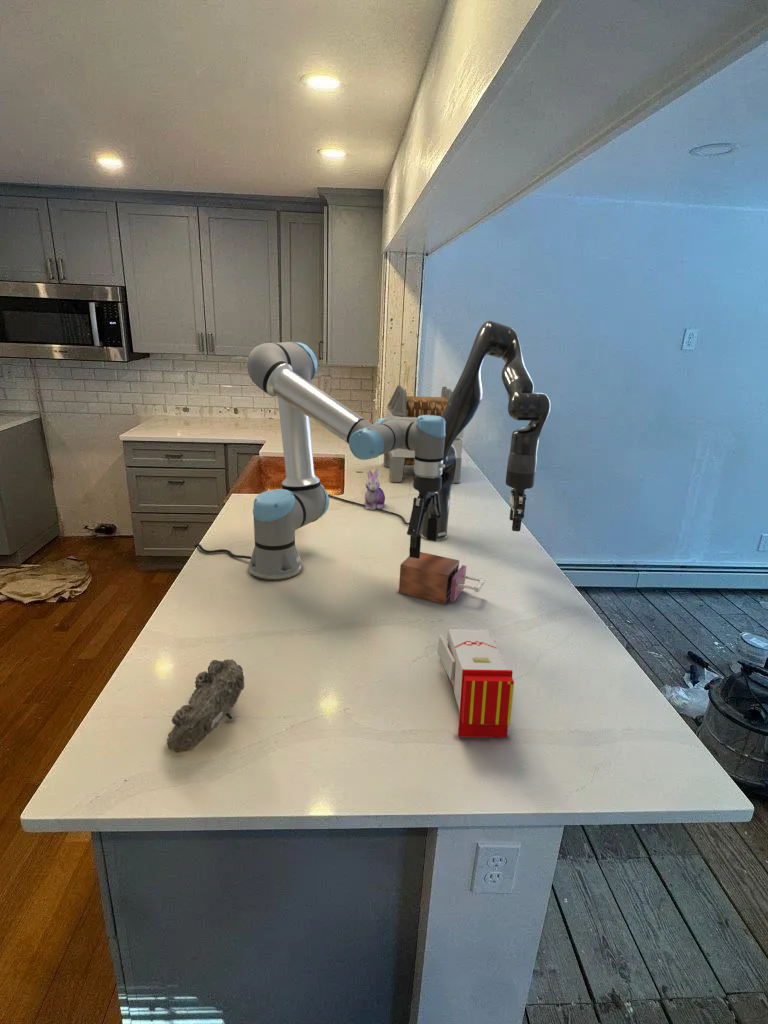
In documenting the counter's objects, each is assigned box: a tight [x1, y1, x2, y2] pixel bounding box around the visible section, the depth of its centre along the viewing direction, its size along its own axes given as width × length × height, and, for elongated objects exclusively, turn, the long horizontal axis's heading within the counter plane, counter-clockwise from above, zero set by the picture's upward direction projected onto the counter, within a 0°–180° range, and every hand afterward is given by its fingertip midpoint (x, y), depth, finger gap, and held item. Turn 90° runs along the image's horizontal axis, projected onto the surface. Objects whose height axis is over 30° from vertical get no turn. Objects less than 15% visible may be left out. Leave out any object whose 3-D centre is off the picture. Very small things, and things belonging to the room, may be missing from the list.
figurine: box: [363, 468, 386, 511], centre depth 223 cm, size 9×10×15 cm
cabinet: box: [398, 551, 460, 605], centre depth 159 cm, size 14×11×9 cm
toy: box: [437, 628, 515, 738], centre depth 117 cm, size 12×13×30 cm
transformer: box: [383, 384, 465, 484], centre depth 268 cm, size 34×33×41 cm
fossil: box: [166, 658, 245, 754], centre depth 106 cm, size 22×10×15 cm
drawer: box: [447, 564, 487, 603], centre depth 157 cm, size 18×10×7 cm, turn 66°
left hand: (423, 548), depth 157 cm, fingers open, 13 cm apart
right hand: (514, 525), depth 157 cm, fingers open, 8 cm apart
